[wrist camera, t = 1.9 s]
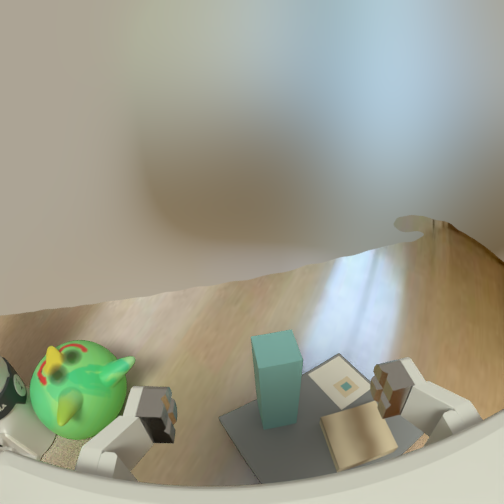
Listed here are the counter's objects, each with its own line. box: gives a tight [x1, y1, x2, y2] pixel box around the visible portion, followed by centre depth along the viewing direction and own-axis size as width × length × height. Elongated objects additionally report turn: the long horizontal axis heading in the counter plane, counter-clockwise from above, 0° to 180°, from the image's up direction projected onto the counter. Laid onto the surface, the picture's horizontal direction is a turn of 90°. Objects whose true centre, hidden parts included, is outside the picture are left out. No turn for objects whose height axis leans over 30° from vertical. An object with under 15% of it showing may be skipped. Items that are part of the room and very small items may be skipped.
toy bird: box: [30, 340, 135, 440], centre depth 39 cm, size 18×17×15 cm
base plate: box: [219, 353, 424, 484], centre depth 38 cm, size 24×22×3 cm
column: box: [251, 330, 303, 430], centre depth 38 cm, size 5×5×16 cm
